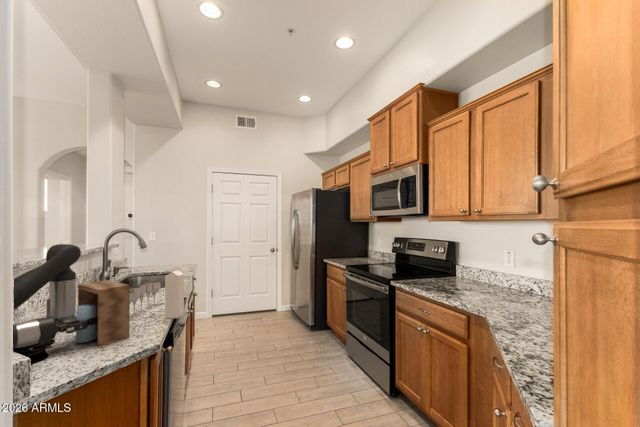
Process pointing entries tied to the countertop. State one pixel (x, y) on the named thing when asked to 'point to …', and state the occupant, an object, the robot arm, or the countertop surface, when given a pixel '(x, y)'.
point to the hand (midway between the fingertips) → (95, 318)
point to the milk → (174, 294)
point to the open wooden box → (108, 308)
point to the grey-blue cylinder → (91, 330)
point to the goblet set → (140, 292)
